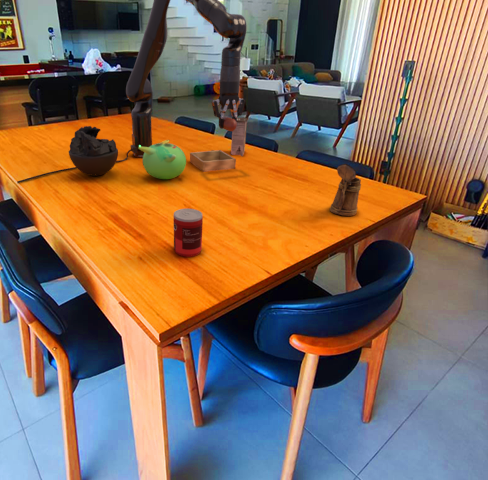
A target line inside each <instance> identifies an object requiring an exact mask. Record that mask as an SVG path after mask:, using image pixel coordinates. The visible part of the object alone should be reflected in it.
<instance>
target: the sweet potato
mask: <svg viewBox="0 0 488 480" xmlns="http://www.w3.org/2000/svg"><path fill="white" fill-rule="evenodd" d="M223 119H224V127H223V129H222V130H226V131H228V132H232V131H234V130H235V129H236V127H237V122H236V121H235V120H234V119H232V117H229V116H227V115H224V117H223Z"/></svg>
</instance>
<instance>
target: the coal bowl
mask: <svg viewBox="0 0 488 480" xmlns="http://www.w3.org/2000/svg"><path fill="white" fill-rule="evenodd" d="M100 132H101V128H98V127H96V126H93V127H92V126H91V125H84V126H81V127H80V128H78V129H77V130H75V131H74V137H72V138H71V139H70V144H69V150H68V156H69V159H70V161H71V162H72V164H73V166H74V167H76V168H77V170H79V171H80V173H83V174H84V175H88V176H91V177H92V176H93V177H97V176H102V175H105V174H106V173H109V172H110V171H111V170H112V169H113V168H114V167H115V165H116V163H117V162H116V161H118V156H119V149H118V148H117V143H116V141H115V139H111V140H110V139H107V138H97V137H98V135H99V133H100Z"/></svg>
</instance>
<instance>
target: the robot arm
mask: <svg viewBox="0 0 488 480" xmlns="http://www.w3.org/2000/svg"><path fill="white" fill-rule="evenodd" d="M185 1H186V2H188V3H190V4H191V5H192V6H193V7H194V8H195V10H196V12H197V13H198V14H199V15H200V16H201V17H202V18H203V19H204V20H205V21H206V22H208V23H209V24H211V25H212V27H213V28H214V30H215V32H217V33H218V35H219V36H221V37H223V38H224V39H228V44H227V45H226V46H225V47H223V48H222V50H221V60H220V61H221V63H220V70H219V71H220V72H219V96H218V98H217V99H215V100H214V99H212V100H211V105H212V110H213V115H214V117H215V118H218V127H219V129H220V130H224V129H223V127H224V119H223V117H224V116H225V114H226V112H227V110H230V112H231V116H232V117H231V118H232V119H234V120H235V121H236V122H237V118H239V117H240V116H243V115H242V114H243V112H244V108H245V105H246V99H245V98H240V96H239V94H240V82H241V57H242V51H243V48H244V47H243V46H244V43H245V39H246V35H247V31H248V30H247V27H248V25H247V20H246V18H245V16H244V15H242V14H237V13H236V14H235V13H229V12H228V11H227V8H226V6H225V4H223V3H222V2H221V1H219V0H185ZM170 3H171V0H153V2H152V6H151V10H150V14H149V17H148V21H147V24H146V26H145V29H144V33H143V37H142V39H141V44H140V47H139V50H138V53H137V57H136V60H135V63H134V66H133V69H132V70H131V73H130V75H129V78H128V81H127V82H126V87H125V94H126V97H127V99H128V100H129V101H130V102H132V103H135V106H134V108H133V109H132V110H131V112H130V114H131V115H130V116H131V126H132V128H131V131H132V134H131V143H132V144H130V148H129V150H127V152H126V157H125V158H124V159H120V160H118V159H117V161H116V163H123V162H124V161H127V160H128V158H129V153H132V155H133V156H134V157H135V158H142V159H143V155H144V152H143V151H141V150H140V149H139V148H138V147H150V146H151V145H153V129H152V127H153V126H152V113H153V108H154V107H153V99H154V98H153V94H154V93H153V87H152V84H151V81H150V80H149V79H148V76H149V74H150V72H151V71H152V69H153V68H154V66H155V65H156V64H157V63H158V61H159V60H160V58H161V56H162V55H163V52H164V50H165V47H166V44H167V40H168V36H169V35H168V20H167V15H168V9H169V6H170ZM219 104H220V107H219ZM237 104H238V106H237ZM76 169H77V168H76V166H74V167H69V168H63V169H57V170H53V171H50V172H45V173H41V174H37V175H34V176H31V177H28V178H24V179H21V180H18V181H16V183H17V184H20V183H23V182H26V181H30V180H33V179H37V178H41V177H44V176H49V175H52V174H56V173H61V172H66V171H70V170H76ZM77 170H78V169H77Z"/></svg>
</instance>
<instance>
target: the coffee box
mask: <svg viewBox="0 0 488 480" xmlns="http://www.w3.org/2000/svg"><path fill="white" fill-rule="evenodd" d="M247 127H248V117H237V127H236V129H235V130H234V131H231V132H232V133H231V145H230V156H231V155H233V156H241V157H243V156H244V154H245V152H246V151H245V149H246V139H247Z"/></svg>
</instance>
